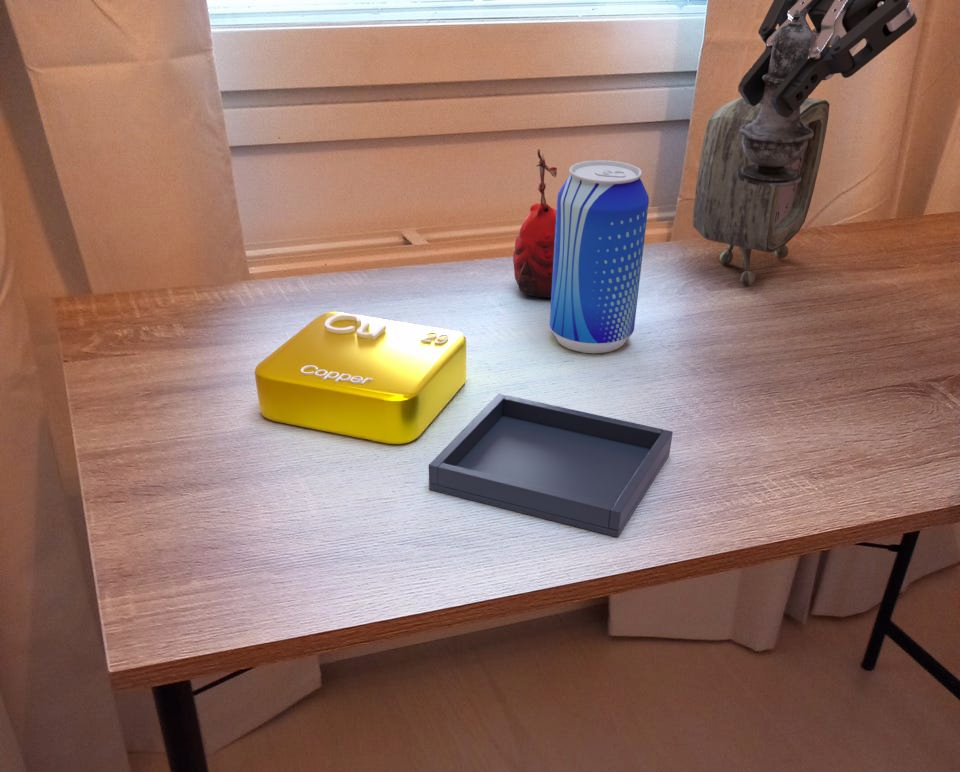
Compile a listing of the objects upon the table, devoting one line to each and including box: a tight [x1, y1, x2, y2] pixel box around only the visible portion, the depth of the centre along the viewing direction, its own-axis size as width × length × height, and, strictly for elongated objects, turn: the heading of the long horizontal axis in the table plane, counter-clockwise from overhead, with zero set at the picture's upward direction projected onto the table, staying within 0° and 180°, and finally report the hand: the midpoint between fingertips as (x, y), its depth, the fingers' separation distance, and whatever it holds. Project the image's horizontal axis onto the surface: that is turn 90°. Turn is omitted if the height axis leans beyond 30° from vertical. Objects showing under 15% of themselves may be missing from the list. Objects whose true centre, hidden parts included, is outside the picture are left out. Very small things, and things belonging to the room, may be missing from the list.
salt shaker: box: [737, 10, 814, 187], centre depth 81 cm, size 6×6×12 cm
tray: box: [428, 393, 674, 538], centre depth 82 cm, size 16×14×2 cm
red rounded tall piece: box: [512, 149, 558, 299], centre depth 108 cm, size 8×7×15 cm
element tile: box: [254, 311, 467, 445], centre depth 91 cm, size 15×15×5 cm
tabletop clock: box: [692, 26, 830, 287], centre depth 111 cm, size 14×9×25 cm, turn 147°
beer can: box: [549, 159, 650, 354], centre depth 97 cm, size 8×8×16 cm
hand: (762, 102), depth 81 cm, fingers closed on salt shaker, 3 cm apart
